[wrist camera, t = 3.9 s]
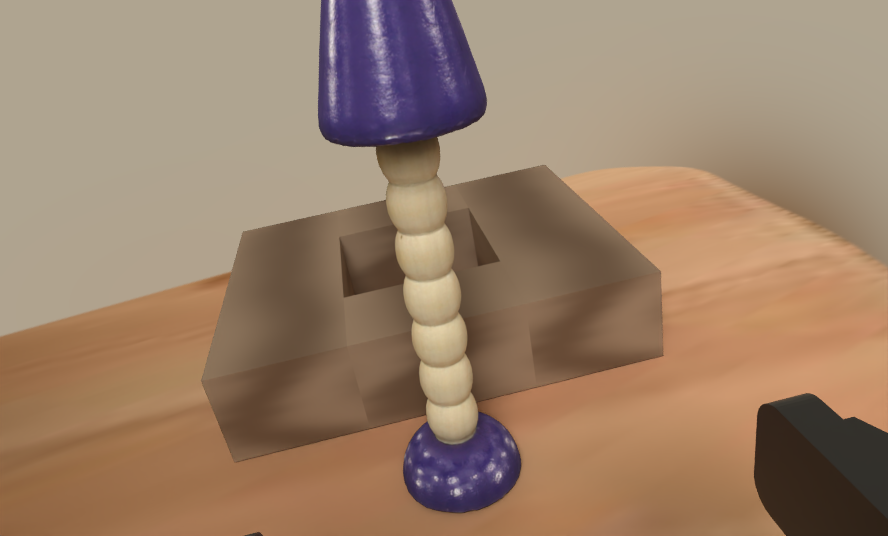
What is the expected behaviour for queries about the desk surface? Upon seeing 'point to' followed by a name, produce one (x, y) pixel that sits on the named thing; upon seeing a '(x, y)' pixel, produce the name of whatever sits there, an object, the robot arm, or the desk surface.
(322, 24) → the toy lamp
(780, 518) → the robot arm
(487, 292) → the socket block
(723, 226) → the desk surface
